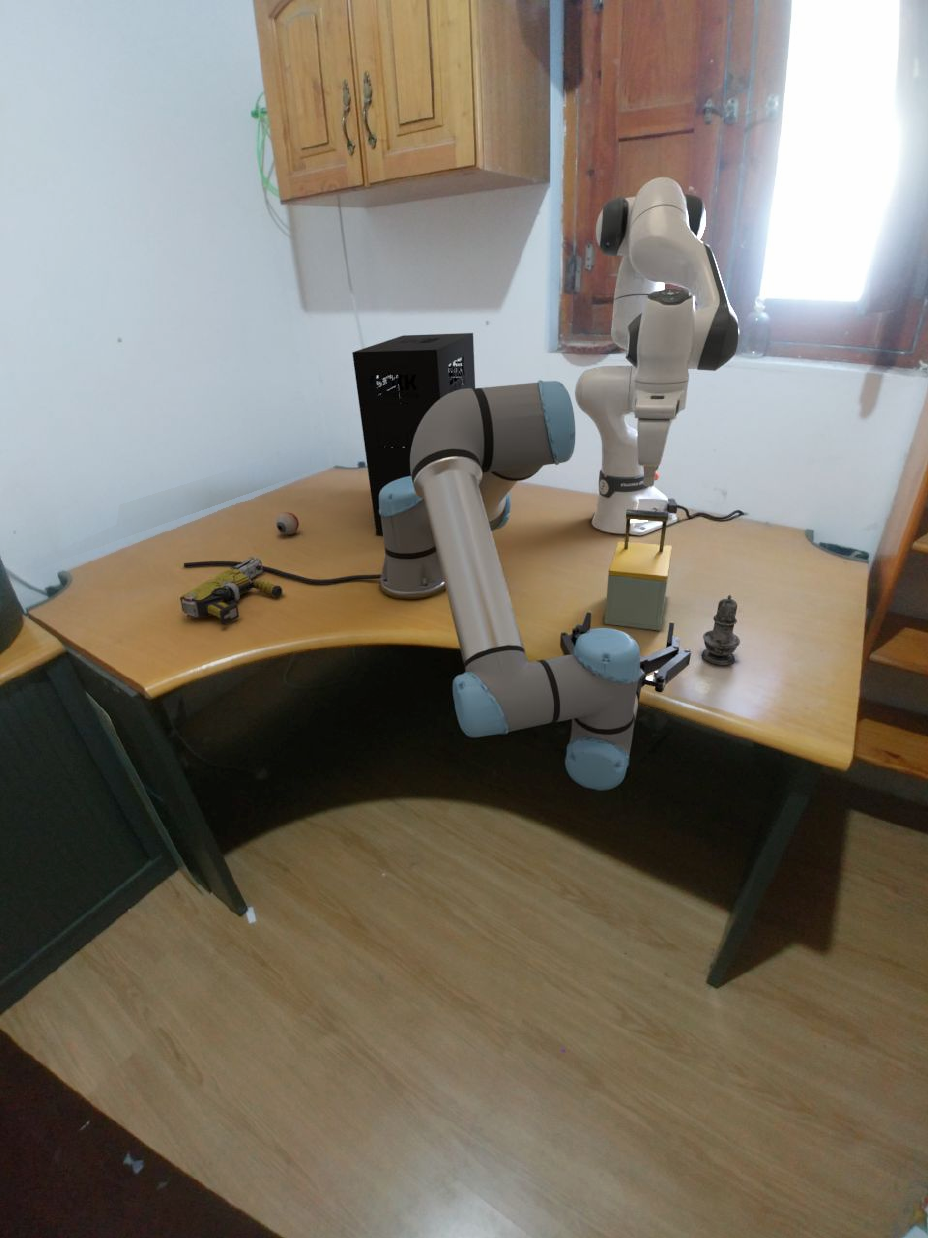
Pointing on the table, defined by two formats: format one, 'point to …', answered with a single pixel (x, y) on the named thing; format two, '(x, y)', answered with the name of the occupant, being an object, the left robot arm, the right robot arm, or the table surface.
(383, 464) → the black computer tower
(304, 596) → the table surface
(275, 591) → the yellow angle grinder
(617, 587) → the chest
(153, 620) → the table surface
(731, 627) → the dark grey chess piece
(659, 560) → the lid
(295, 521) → the eyeball
